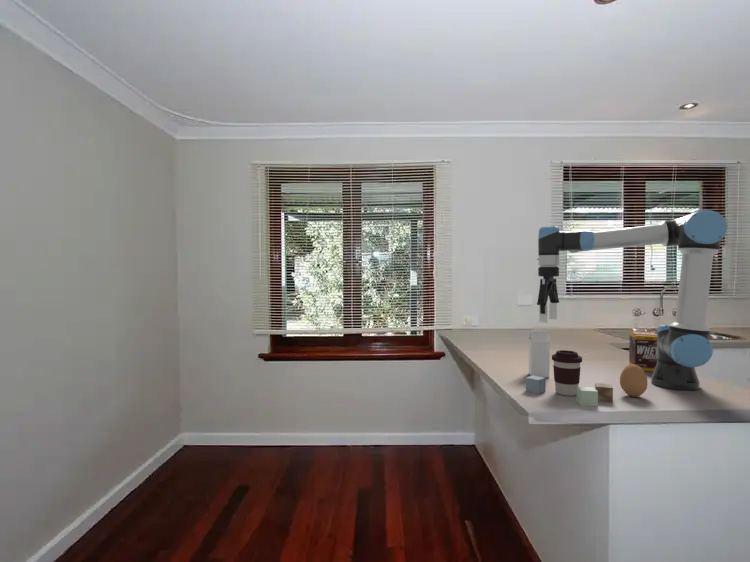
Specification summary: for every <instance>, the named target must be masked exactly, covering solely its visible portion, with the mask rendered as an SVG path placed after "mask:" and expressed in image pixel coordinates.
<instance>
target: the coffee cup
mask: <svg viewBox="0 0 750 562" xmlns="http://www.w3.org/2000/svg"><path fill="white" fill-rule="evenodd" d="M551 361H553V365H552V366H553V380H554V385H555V386H554V387H555V392H556V394H557V395H558V394H559V395H562V396H567V397H572V396H573V397H574V396H577V387H579V384H580V380H581V379H580V378H581V363H582V362H583V356H580V355H579V354H578V352H577V351H574V350H568V349H567V350H565V349H563V350H562V349H561V350H556V351H555V353H554V354H552V355H551Z"/></svg>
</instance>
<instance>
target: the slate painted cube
mask: <svg viewBox="0 0 750 562" xmlns="http://www.w3.org/2000/svg"><path fill="white" fill-rule="evenodd" d="M546 378H547V377H538V376H531V375H530V376H527V377H525V391H526V392H530V393H532V394H533V393H534V394H542V393H545V392H546V386H547V385H546V381H547V380H546Z"/></svg>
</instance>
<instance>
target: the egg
mask: <svg viewBox="0 0 750 562" xmlns="http://www.w3.org/2000/svg"><path fill="white" fill-rule="evenodd" d="M645 372H646V371H643V370H642V368H640V367H639V366H637V365H635V364H631V365H630V364H628V365H626V366H625V367H624V369H622V371H621V373H620V376H619V384H620V388H621V389H622V391H623V392H624V393H625V394H626V395H627V396H629V397H633V398H636V397H640V396H642V395H643V394H644V393H646V390H647V389H648V377H647V375H646V373H645Z"/></svg>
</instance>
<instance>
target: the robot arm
mask: <svg viewBox="0 0 750 562" xmlns="http://www.w3.org/2000/svg"><path fill="white" fill-rule="evenodd" d="M727 230H728V223H727V220H726V218H725V217H724V216H723V215H722V214H721V213H719V212H717V211H714V210H710V209H704V210H696V211H693V212H692V213H689V214H687V215H685V216H681V217H679V218H675V219H671V220H664V221H661V223H659V224H651V225H650V224H649V225H643V226H642V225H641V226H640V225H639V226H634V227H633V226H632V227H623V228H622V227H621V228H615V229H614V228H613V229H606V230H605V229H604V230H596V231H595V230H594V231H593V230H572V231H571V230H569V231H563V230H562V231H561V230H560V227H559V226H555V225H554V226H553V225H551V226H542V227H540V228H538V235H537V237H538V239H537V240H538V243H537V244H538V245H537V246H538V249H537V250H538V253H537V254H538V257H537V259H536V260H537V262H538V263H537V264H538V266H539V267H538V270H537V273H538V275H537V276H538V277H542V278H540V279H539V281H540V282H539V291H538V296H537V302H536V305H538V306H539V308H538V310H539V311H538V312H539V314H538V315H539V320H538V321H539V322H538V323H545V324H547V323H548V319H549V320H557V319H558V316H557V315H558V304H559V303H560V300H559V295H558V293H559V292H558V285H557V278H554V277H560V276H559V275H560V267H559V266H560V252H567V251H568V252H569V253H571V254H573V253H574V254H575V253H578V252H588V251H589V252H590V251H598V250H600V251H601V250H609V249H619V248H621V249H622V248H632V247H640V246H642V247H643V246H653V245H662V246H663V247H669V246H671V247H673V246H675V247H676V246H678V247H677V250H678V251H679V252H680V253H681V254H682V258H681V266H680V274H679V276H680V277H679V284H678V292H677V300H676V301H677V302H676V311H675V320H674V321H673V322H672V323H670V324H660V325H659V326H657V330H656V333H657V364H656V367H655V369H654V372H653V371H652V374H651V376H650V377H651V379H650V380H651V384H652V385H655V386H657V387H660V388H665V389H672V390H680V391H696V389H697V390H700V380H699V376H698V375H697V372H696V369H695V368H698V367H702V366H704V365H705V364H707V363H708V362H709V361H710V360H711V359H712V357H713V352H714V350H713V346H712V343H711V342H710V336H711V335H710V334H711V329H710V328H709V327H708V326H707V324H706V323H707V320H706V319H707V312H708V305H709V304H708V303H709V297H710V296H709V295H710V285H711V278H712V277H711V276H712V270H713V269H712V268H713V261H714V256H715V254H717V253H719V252H720V249H721V241H722V239H723V238H724V237H725V235H726V234H727V232H728V231H727ZM548 300H549V303H548ZM547 304H549V307H548V305H547ZM548 308H549V310H548ZM548 313H549V315H548ZM548 316H549V317H548Z"/></svg>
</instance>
